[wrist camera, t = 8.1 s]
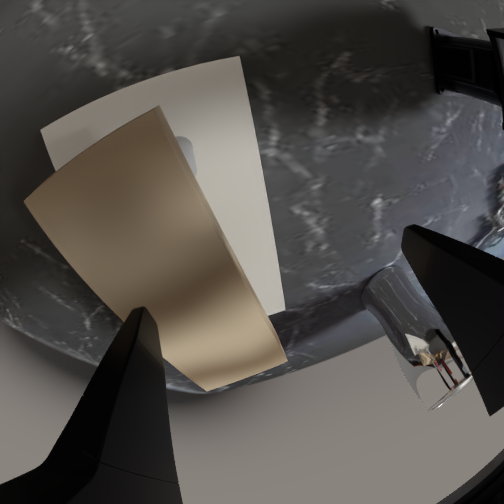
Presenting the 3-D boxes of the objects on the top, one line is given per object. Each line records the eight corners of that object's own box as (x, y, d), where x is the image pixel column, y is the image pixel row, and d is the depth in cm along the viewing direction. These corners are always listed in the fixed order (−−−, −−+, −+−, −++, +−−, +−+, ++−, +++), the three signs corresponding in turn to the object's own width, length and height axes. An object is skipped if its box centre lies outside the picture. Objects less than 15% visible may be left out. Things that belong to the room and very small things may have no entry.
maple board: (276, 333, 19) (287, 361, 17) (201, 362, 19) (206, 391, 17) (159, 105, 9) (152, 110, 7) (47, 178, 9) (23, 201, 7)
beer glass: (346, 308, 29) (413, 422, 17) (379, 257, 25) (471, 373, 14) (384, 309, 31) (446, 403, 20) (414, 266, 28) (492, 359, 16)
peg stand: (234, 58, 13) (258, 46, 9) (280, 298, 25) (301, 345, 21) (50, 125, 12) (5, 147, 8) (157, 333, 24) (159, 383, 20)
